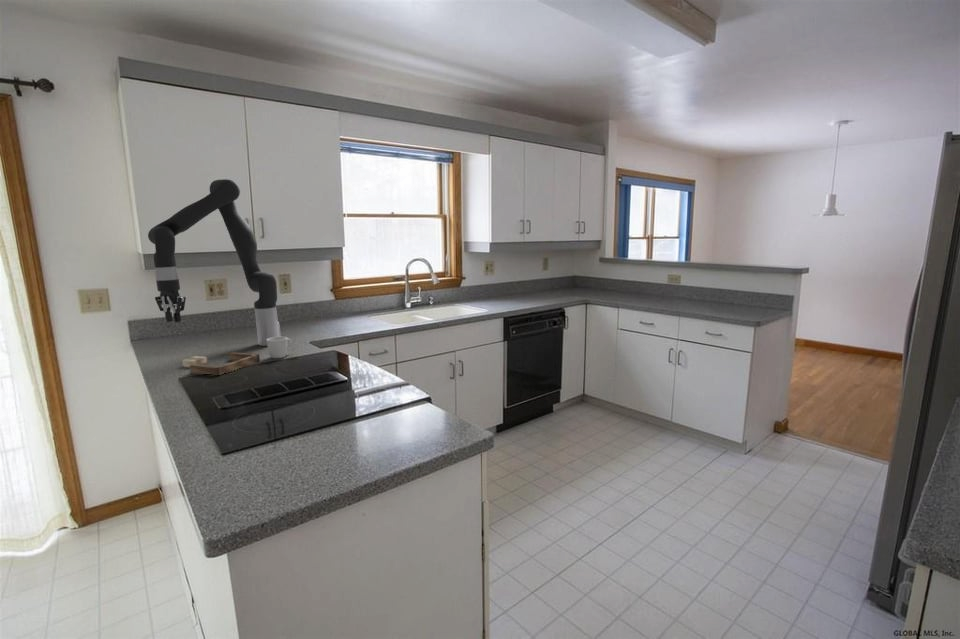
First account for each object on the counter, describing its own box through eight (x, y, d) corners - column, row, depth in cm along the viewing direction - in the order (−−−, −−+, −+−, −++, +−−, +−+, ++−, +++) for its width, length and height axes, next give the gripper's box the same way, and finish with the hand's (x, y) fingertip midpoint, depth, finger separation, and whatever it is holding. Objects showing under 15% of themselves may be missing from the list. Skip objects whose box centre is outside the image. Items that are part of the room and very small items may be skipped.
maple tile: (195, 363, 196) (194, 356, 196) (207, 364, 195) (206, 357, 194) (183, 367, 191) (181, 360, 190) (194, 368, 189) (193, 360, 188)
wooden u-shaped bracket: (232, 359, 200) (231, 352, 199) (260, 361, 195) (259, 354, 195) (190, 373, 181) (189, 365, 181) (219, 376, 177) (218, 368, 176)
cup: (286, 352, 209) (284, 334, 208) (298, 354, 205) (296, 336, 204) (264, 358, 200) (262, 339, 199) (276, 360, 196) (274, 341, 195)
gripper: (189, 277, 191) (195, 320, 194) (162, 277, 195) (168, 319, 198) (172, 279, 184) (178, 324, 187) (144, 279, 188) (151, 323, 191)
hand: (173, 321), depth 192 cm, fingers open, 3 cm apart
